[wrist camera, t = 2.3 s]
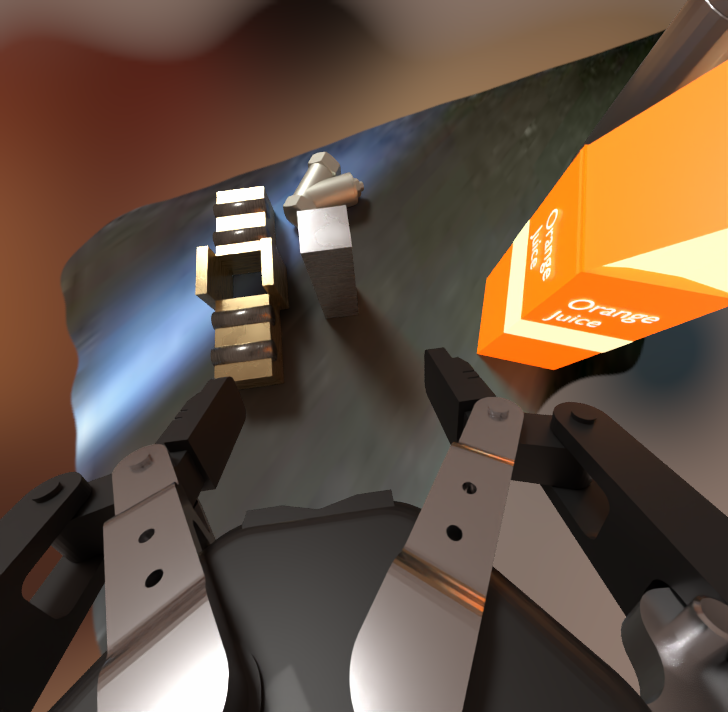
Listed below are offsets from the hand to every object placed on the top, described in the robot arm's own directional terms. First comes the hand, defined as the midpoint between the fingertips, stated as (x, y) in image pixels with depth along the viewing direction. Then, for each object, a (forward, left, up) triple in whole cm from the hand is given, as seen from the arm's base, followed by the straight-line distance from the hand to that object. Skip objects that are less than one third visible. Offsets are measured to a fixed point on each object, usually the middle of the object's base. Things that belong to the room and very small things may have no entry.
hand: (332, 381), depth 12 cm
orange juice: (-18, -7, -16) cm, 25 cm away
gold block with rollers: (+9, -14, -16) cm, 23 cm away
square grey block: (0, -12, -16) cm, 19 cm away
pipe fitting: (0, -24, -16) cm, 29 cm away
